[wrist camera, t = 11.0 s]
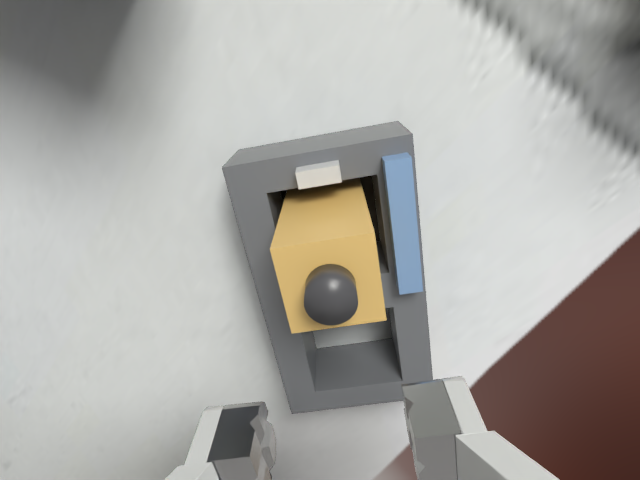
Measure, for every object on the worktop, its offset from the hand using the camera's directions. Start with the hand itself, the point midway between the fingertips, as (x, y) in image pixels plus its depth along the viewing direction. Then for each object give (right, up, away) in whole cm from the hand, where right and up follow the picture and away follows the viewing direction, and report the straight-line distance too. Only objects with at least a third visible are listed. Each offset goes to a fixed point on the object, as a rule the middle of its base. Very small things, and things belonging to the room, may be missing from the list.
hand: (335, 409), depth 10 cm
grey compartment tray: (+1, +3, +15) cm, 16 cm away
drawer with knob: (0, +6, +14) cm, 15 cm away
